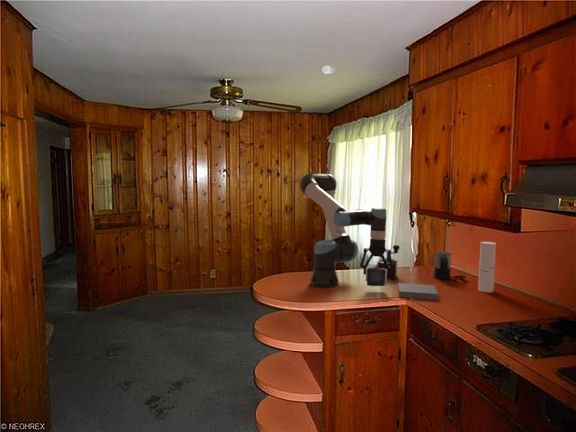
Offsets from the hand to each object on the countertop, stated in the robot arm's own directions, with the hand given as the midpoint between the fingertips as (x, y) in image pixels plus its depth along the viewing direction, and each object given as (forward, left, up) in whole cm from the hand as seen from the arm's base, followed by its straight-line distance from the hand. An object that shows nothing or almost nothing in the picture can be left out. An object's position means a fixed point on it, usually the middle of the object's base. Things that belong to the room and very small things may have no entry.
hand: (375, 281), depth 208 cm
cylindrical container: (+55, +15, -5) cm, 57 cm away
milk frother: (+41, +35, -5) cm, 54 cm away
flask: (0, 0, -2) cm, 2 cm away
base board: (+20, -1, -5) cm, 21 cm away
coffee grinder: (+6, +32, -5) cm, 33 cm away
